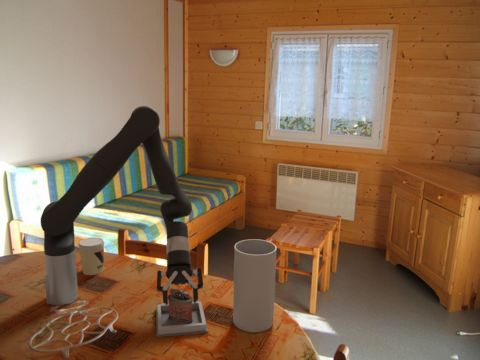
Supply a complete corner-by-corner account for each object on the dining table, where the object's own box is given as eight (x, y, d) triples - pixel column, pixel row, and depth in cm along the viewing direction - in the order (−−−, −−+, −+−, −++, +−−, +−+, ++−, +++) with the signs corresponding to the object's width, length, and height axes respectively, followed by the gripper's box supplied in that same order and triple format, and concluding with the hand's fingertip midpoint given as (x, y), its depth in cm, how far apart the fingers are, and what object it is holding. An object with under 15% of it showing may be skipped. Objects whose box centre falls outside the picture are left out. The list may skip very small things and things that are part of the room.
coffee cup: (101, 276, 164) (99, 246, 161) (76, 275, 164) (74, 245, 161) (109, 266, 173) (107, 237, 170) (85, 265, 173) (83, 236, 170)
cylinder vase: (233, 311, 142) (235, 238, 136) (272, 312, 142) (275, 239, 136) (231, 332, 130) (233, 254, 124) (274, 334, 130) (277, 255, 124)
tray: (156, 337, 127) (156, 329, 126) (156, 310, 141) (155, 303, 141) (208, 332, 130) (208, 325, 129) (202, 307, 144) (202, 300, 144)
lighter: (194, 319, 136) (194, 289, 134) (189, 324, 133) (189, 294, 130) (171, 314, 138) (171, 285, 136) (166, 319, 135) (165, 290, 133)
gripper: (155, 249, 137) (157, 301, 129) (201, 247, 140) (205, 297, 131) (156, 258, 143) (157, 308, 135) (199, 256, 146) (203, 304, 138)
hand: (180, 303), depth 133 cm, fingers open, 8 cm apart
